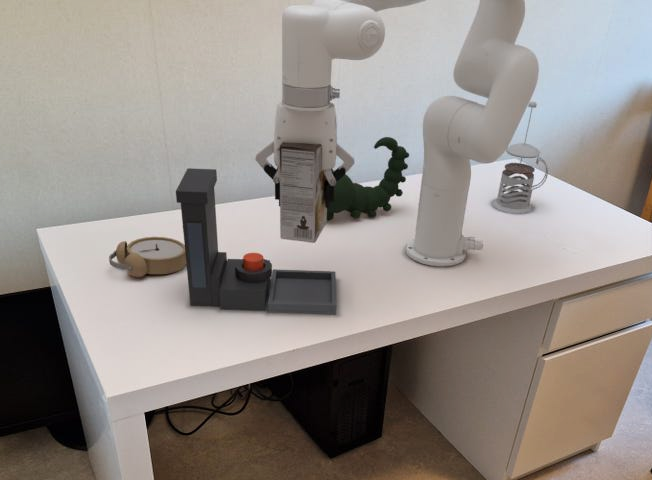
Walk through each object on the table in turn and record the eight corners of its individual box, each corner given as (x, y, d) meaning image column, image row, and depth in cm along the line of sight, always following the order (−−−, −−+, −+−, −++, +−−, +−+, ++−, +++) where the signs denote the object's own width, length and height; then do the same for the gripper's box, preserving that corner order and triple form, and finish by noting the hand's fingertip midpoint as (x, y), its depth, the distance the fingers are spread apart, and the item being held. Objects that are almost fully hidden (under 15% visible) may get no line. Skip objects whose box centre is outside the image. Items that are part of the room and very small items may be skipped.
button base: (274, 279, 128) (273, 251, 125) (269, 311, 118) (269, 281, 115) (228, 278, 128) (227, 249, 124) (220, 309, 118) (218, 280, 114)
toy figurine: (385, 209, 164) (291, 212, 154) (399, 131, 154) (299, 129, 144) (404, 224, 157) (306, 228, 147) (419, 143, 147) (315, 142, 137)
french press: (490, 197, 170) (509, 94, 155) (536, 201, 169) (560, 98, 154) (493, 211, 162) (513, 105, 147) (541, 216, 161) (566, 109, 146)
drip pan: (335, 280, 129) (335, 271, 128) (335, 315, 118) (336, 305, 117) (272, 278, 128) (272, 269, 127) (267, 313, 118) (267, 303, 117)
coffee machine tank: (228, 279, 127) (222, 169, 115) (220, 308, 118) (213, 192, 106) (197, 278, 127) (187, 168, 115) (187, 307, 118) (175, 190, 106)
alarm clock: (197, 254, 129) (121, 259, 120) (195, 277, 131) (120, 283, 122) (173, 233, 136) (100, 236, 127) (171, 256, 139) (99, 260, 130)
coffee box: (292, 219, 120) (293, 128, 111) (327, 223, 119) (330, 132, 110) (279, 239, 113) (278, 144, 103) (315, 244, 112) (318, 148, 103)
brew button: (264, 263, 121) (264, 252, 120) (262, 272, 118) (262, 261, 117) (244, 262, 121) (244, 252, 120) (242, 271, 118) (242, 261, 117)
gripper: (361, 92, 106) (354, 198, 116) (252, 87, 106) (255, 194, 116) (363, 104, 100) (355, 215, 110) (247, 99, 100) (251, 211, 110)
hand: (304, 203), depth 113 cm, fingers closed on coffee box, 7 cm apart
